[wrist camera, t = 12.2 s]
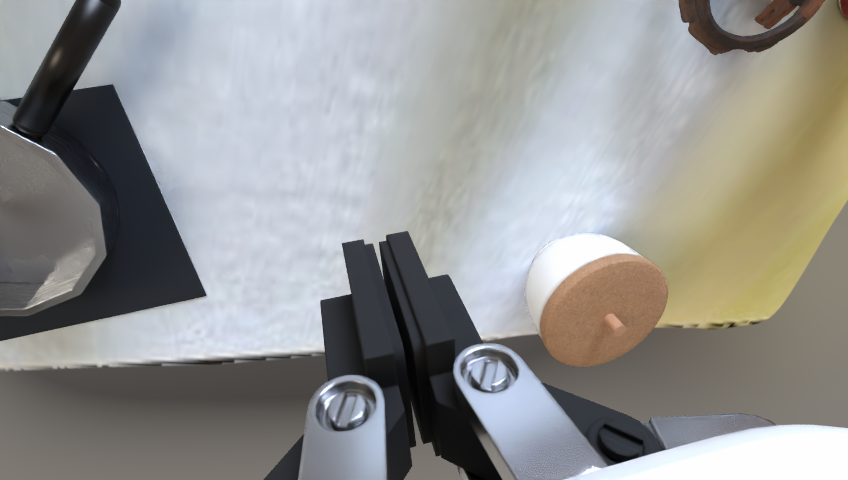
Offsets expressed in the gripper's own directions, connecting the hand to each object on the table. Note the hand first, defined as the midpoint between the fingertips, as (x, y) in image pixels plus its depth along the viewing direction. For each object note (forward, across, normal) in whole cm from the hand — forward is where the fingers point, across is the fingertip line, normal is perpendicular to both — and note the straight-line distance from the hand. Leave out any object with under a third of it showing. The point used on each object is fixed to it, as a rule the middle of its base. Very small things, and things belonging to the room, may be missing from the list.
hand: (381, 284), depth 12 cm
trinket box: (+22, -18, +19) cm, 34 cm away
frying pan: (+22, +18, +1) cm, 28 cm away
